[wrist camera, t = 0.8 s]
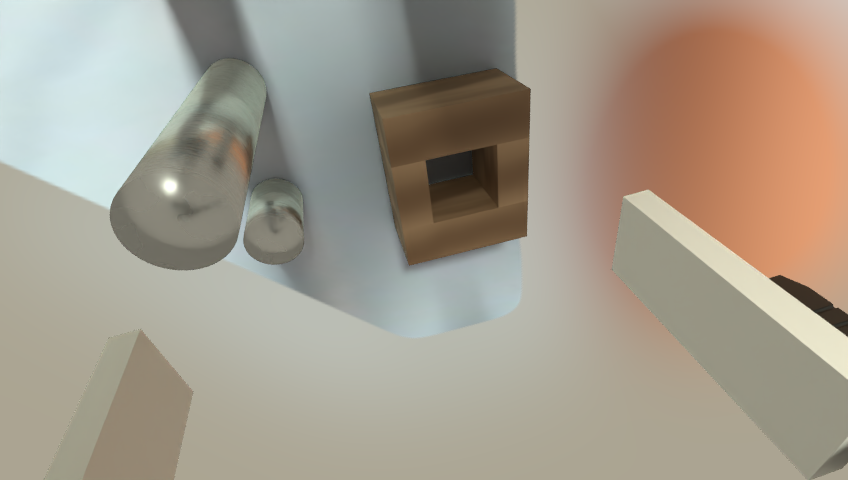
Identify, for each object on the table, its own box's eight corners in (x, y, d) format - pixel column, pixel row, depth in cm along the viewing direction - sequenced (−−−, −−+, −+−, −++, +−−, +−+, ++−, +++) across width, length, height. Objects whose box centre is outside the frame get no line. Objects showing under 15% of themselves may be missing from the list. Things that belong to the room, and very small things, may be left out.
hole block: (369, 93, 32) (382, 119, 27) (496, 68, 33) (530, 88, 28) (395, 226, 39) (409, 265, 34) (499, 201, 40) (526, 236, 35)
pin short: (243, 184, 33) (234, 224, 29) (294, 173, 34) (294, 210, 29) (260, 226, 36) (255, 270, 31) (308, 215, 36) (310, 256, 31)
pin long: (193, 64, 28) (84, 187, 14) (254, 53, 29) (212, 161, 14) (217, 122, 30) (146, 281, 16) (274, 111, 31) (254, 255, 17)
